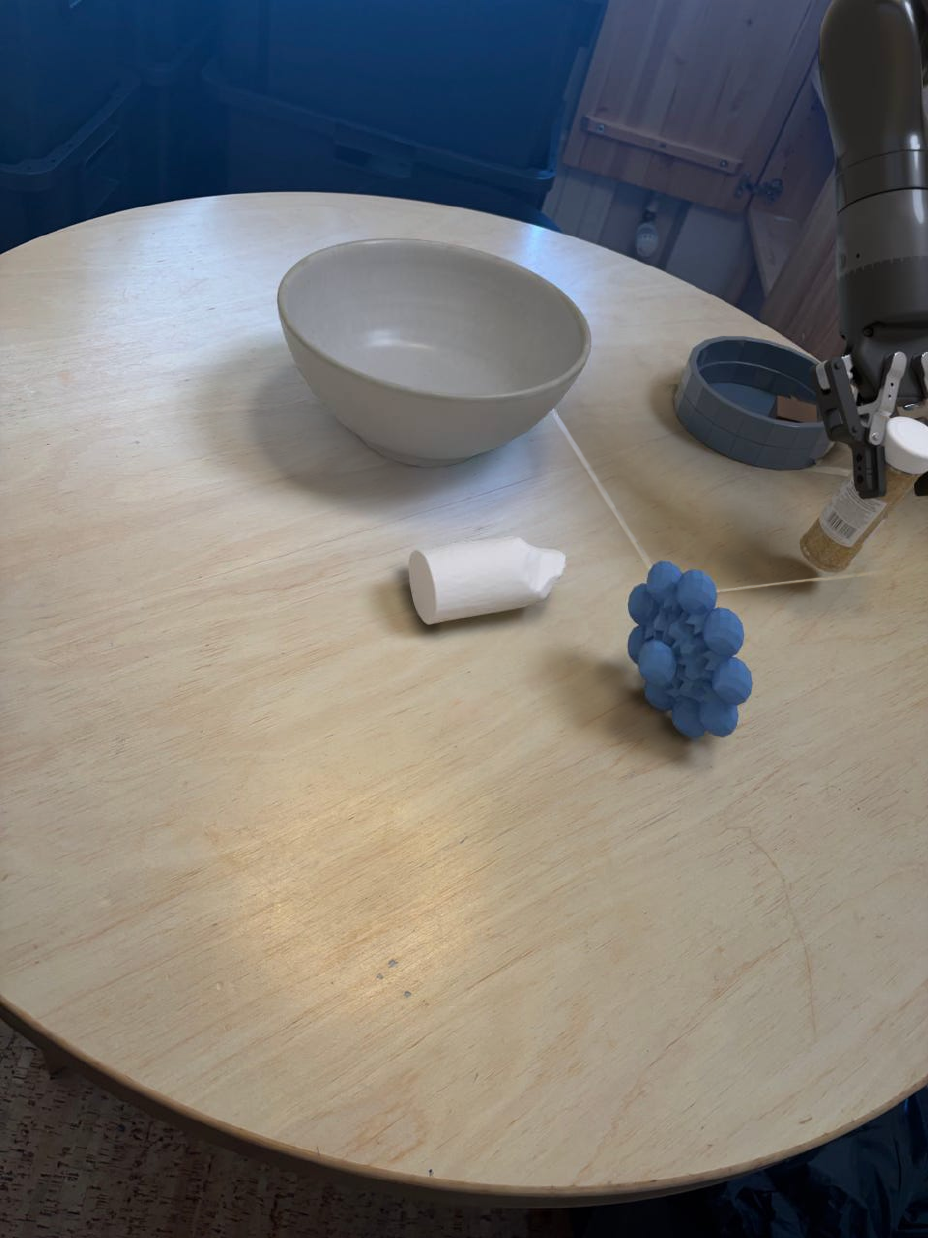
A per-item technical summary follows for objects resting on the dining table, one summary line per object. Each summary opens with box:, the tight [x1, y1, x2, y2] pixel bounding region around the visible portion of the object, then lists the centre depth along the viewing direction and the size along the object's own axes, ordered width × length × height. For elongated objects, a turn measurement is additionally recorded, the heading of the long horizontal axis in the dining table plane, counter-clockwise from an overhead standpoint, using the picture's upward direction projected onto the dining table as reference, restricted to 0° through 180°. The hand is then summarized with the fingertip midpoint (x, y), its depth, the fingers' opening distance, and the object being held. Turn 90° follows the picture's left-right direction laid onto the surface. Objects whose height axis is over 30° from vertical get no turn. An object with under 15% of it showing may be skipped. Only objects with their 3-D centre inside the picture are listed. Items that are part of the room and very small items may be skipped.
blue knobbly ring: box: [627, 560, 754, 740], centre depth 64 cm, size 12×7×12 cm, turn 33°
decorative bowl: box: [276, 237, 592, 468], centre depth 85 cm, size 27×27×12 cm
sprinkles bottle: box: [799, 416, 928, 574], centre depth 75 cm, size 5×5×13 cm
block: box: [768, 395, 818, 423], centre depth 95 cm, size 4×4×4 cm
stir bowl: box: [672, 335, 842, 471], centre depth 97 cm, size 17×17×6 cm
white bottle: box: [408, 535, 567, 625], centre depth 72 cm, size 6×12×6 cm, turn 111°
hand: (901, 495), depth 72 cm, fingers closed on sprinkles bottle, 4 cm apart
